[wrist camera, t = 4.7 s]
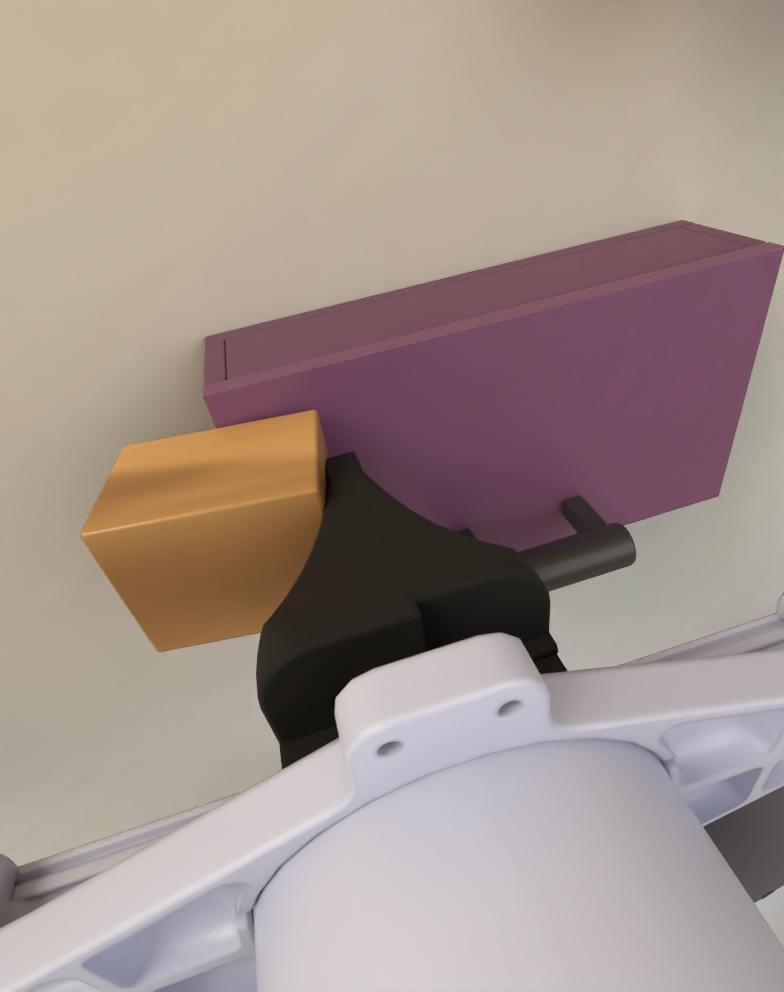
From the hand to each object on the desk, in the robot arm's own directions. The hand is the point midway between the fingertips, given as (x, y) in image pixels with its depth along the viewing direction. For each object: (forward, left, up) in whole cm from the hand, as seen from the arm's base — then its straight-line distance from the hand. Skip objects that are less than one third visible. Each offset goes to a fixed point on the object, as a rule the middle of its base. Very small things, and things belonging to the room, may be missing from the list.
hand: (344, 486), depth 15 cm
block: (+1, +2, -1) cm, 3 cm away
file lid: (-4, -4, -2) cm, 6 cm away
